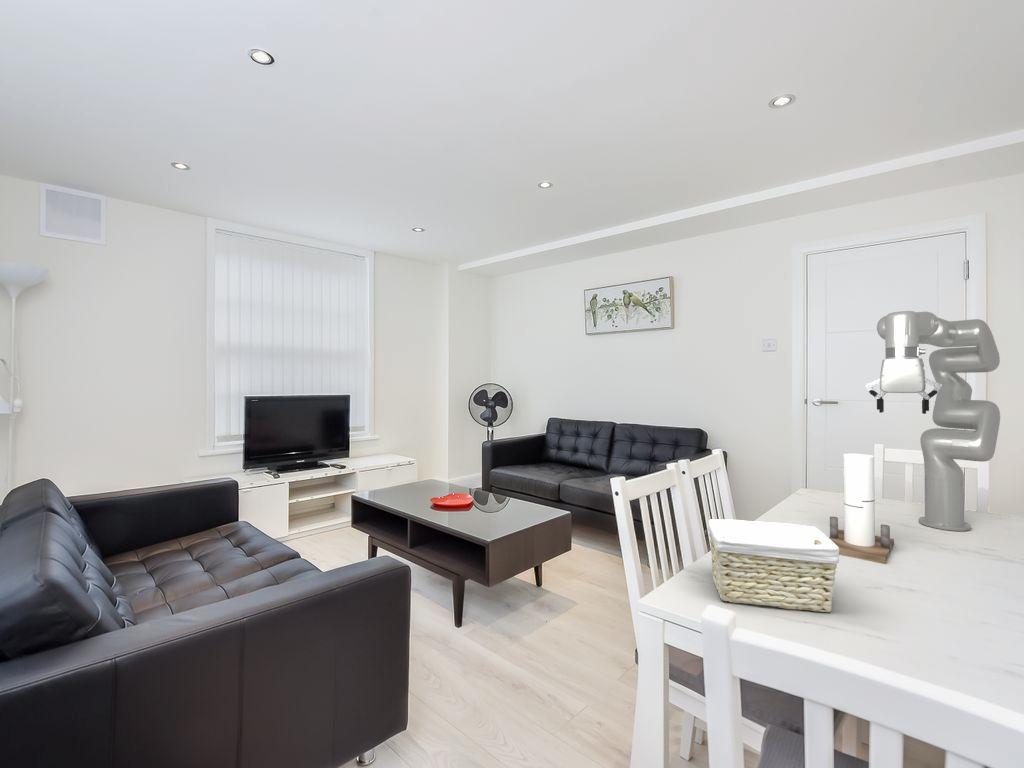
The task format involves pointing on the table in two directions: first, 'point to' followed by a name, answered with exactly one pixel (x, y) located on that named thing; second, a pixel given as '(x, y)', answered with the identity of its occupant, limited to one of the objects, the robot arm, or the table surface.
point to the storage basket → (773, 564)
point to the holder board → (870, 553)
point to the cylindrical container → (859, 499)
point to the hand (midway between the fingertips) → (902, 412)
